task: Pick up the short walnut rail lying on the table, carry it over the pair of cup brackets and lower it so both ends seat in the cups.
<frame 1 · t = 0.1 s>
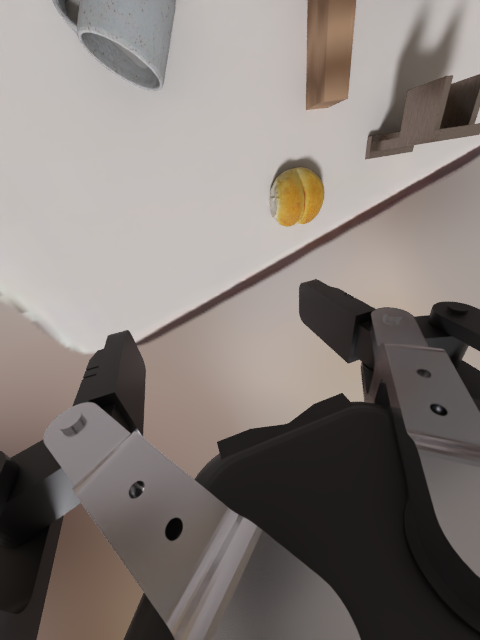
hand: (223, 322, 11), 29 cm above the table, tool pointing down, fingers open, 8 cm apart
bread roll: (291, 198, 39), on the table
rail: (318, 13, 29), on the table
ceramic mug: (118, 31, 24), on the table
cup brackets: (405, 48, 33), on the table
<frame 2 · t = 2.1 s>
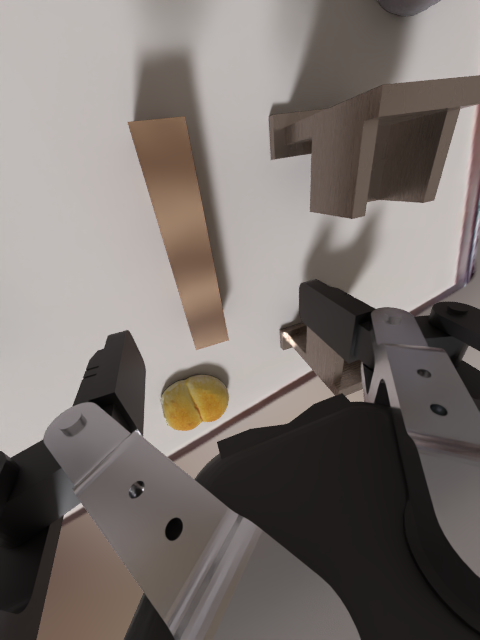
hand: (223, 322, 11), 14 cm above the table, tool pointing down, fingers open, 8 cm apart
bread roll: (193, 394, 33), on the table
rail: (185, 248, 23), on the table
cup brackets: (311, 252, 27), on the table
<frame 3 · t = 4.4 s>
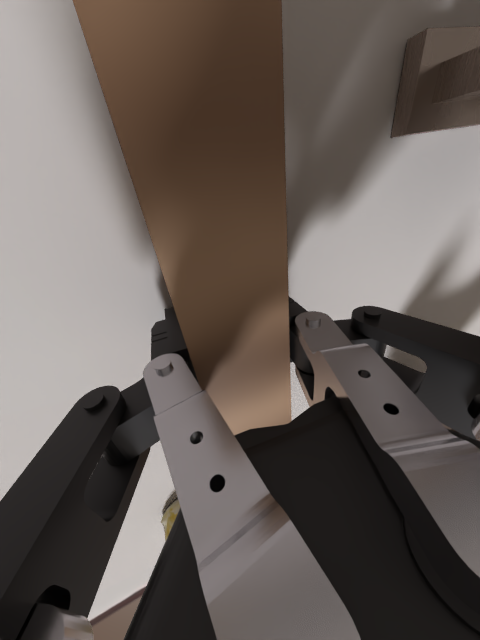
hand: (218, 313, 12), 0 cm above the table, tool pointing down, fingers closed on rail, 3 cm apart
bread roll: (210, 499, 22), on the table
rail: (216, 308, 12), on the table, touching gripper
cup brackets: (413, 299, 17), on the table
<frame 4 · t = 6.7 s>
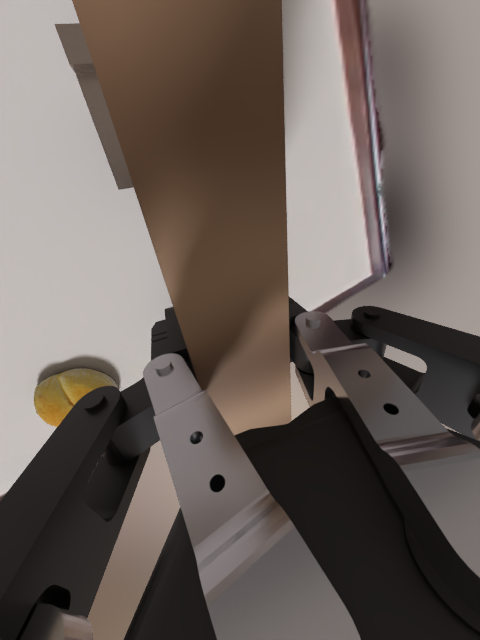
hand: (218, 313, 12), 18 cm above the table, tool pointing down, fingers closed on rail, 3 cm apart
bread roll: (80, 389, 31), on the table
rail: (217, 309, 12), point 17 cm above the table, touching gripper
cup brackets: (182, 238, 26), on the table
when the fingers open (8 cm above the table, at t = 9.2 s): rail drops 1 cm, resting on cup brackets.
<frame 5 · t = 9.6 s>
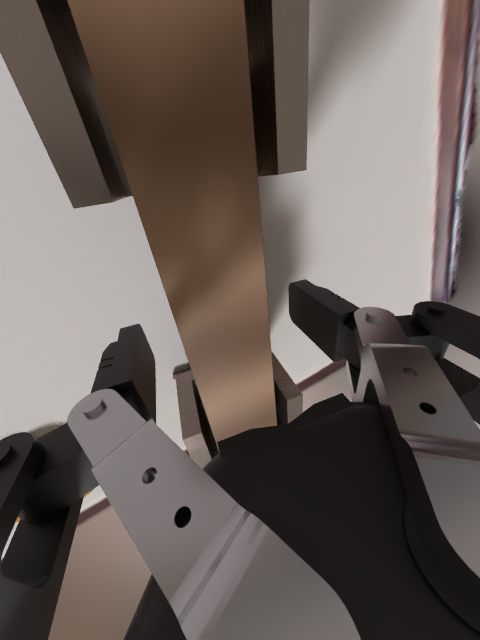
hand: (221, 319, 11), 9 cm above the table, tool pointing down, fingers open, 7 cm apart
rail: (208, 298, 13), point 6 cm above the table, touching cup brackets
cup brackets: (195, 267, 18), on the table
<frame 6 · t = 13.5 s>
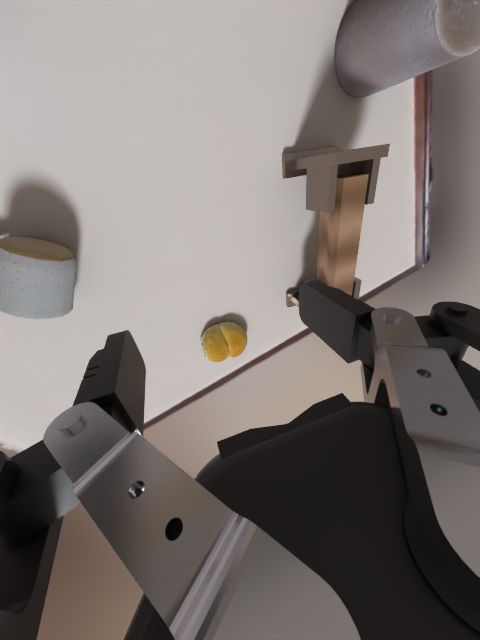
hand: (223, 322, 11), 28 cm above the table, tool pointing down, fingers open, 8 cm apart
bread roll: (221, 338, 46), on the table
rail: (327, 244, 36), point 6 cm above the table, touching cup brackets
ceramic mug: (37, 267, 31), on the table
pillar candle: (363, 52, 31), on the table
cup brackets: (307, 237, 41), on the table
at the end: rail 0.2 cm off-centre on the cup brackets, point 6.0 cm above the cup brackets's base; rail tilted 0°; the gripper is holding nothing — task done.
